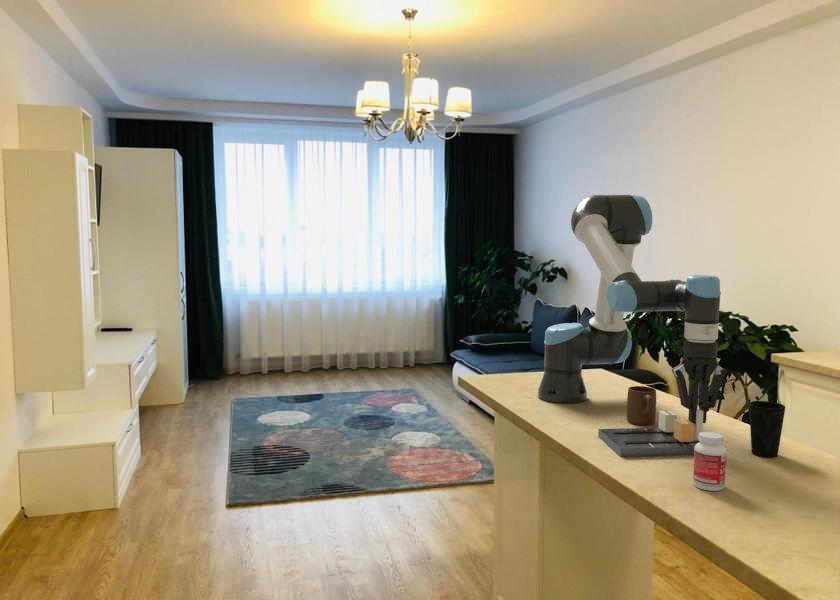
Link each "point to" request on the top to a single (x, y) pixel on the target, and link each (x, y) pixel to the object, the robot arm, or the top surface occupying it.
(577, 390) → the robot arm
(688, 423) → the fader
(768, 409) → the cup
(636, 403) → the mug
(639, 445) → the console
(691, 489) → the top surface
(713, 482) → the pill bottle
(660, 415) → the fader
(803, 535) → the top surface
